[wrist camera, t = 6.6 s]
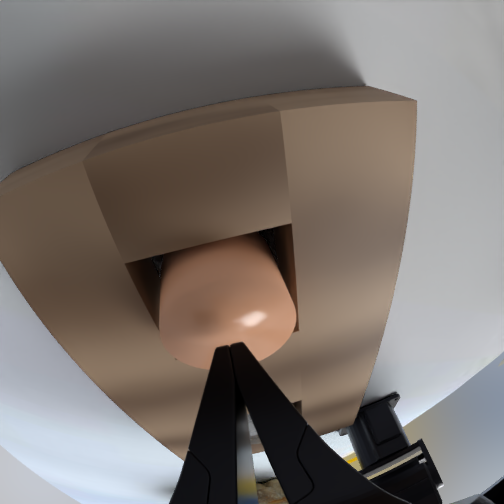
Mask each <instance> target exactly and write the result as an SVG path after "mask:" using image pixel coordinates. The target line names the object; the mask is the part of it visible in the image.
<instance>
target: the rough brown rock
mask: <svg viewBox="0 0 504 504" xmlns="http://www.w3.org/2000/svg"><path fill="white" fill-rule="evenodd" d="M256 488H257V496H258V503H259V504H289V503H288V501H287V499H286V497H285V495H284V493H283V490H282V488H281V486H280V484H279V482H278V480H277V478H276V479H272V480H270V481H269V482H267V483H265V484H259V483H256Z"/></svg>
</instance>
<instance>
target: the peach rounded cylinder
mask: <svg viewBox="0 0 504 504" xmlns="http://www.w3.org/2000/svg"><path fill="white" fill-rule="evenodd" d="M295 324H296V309H295V306H294V304H293V301H292V299H291V297H290V294H289V292H288V290H287V287H286V285H285V283H284V280H283V278H282V276H281V273H280V271H279V269H278V266H277V264H276V262H275V259H274V257H273V255H272V252H271V250H270V248H269V245H268V244H267V242H266V240H265V239H264V238H263V237H262V236H261V235H260V234H259V233H258V232H257V231H256V232H251V233H247V234H243V235H239V236H235V237H230V238H226V239H222V240H218V241H214V242H209V243H205V244H201V245H197V246H193V247H189V248H185V249H181V250H177V251H173V252H169V253H165V254H164V255H163V258H162V263H161V279H160V318H159V331H160V338H161V341H162V344H163V346H164V347H165V349H166V350H167V351H168V352H169V353H170V354H171V355H172V356H173V357H174V358H176V359H177V360H179V361H181V362H182V363H185V364H187V365H190V366H193V367H196V368H201V369H208V370H209V369H210V365H211V362H212V358H213V355H214V351H215V349H216V347H219V346H223V345H229V346H230V345H231V344H232V343H236V342H241V341H242V342H244V343H245V344H246V346H247V347H248V348H249V350H250V351H251V352H252V354H253V355H254V356H255V358H256V359H257V360H258V361H261V360H263V359H265V358H267V357H268V356H270V355H271V354H273V353H274V352H276V351H277V350H278V349H279V348H281V347H282V346H283V345H284V344H285V343H286V341H287V340H288V339H289V337H290V336H291V334H292V332H293V330H294V327H295Z"/></svg>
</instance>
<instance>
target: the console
mask: <svg viewBox="0 0 504 504" xmlns="http://www.w3.org/2000/svg"><path fill="white" fill-rule="evenodd" d="M416 121H417V101H416V100H413V99H410V98H407V97H404V96H401V95H398V94H394V93H391V92H388V91H384V90H381V89H377V88H374V87H370V86H352V87H335V88H322V89H310V90H301V91H292V92H284V93H276V94H269V95H262V96H256V97H249V98H244V99H238V100H232V101H227V102H222V103H217V104H212V105H208V106H203V107H198V108H194V109H190V110H186V111H182V112H178V113H174V114H170V115H166V116H162V117H159V118H155V119H151V120H148V121H144V122H141V123H138V124H134V125H131V126H128V127H125V128H122V129H119V130H116V131H113V132H110V133H107V134H104V135H101V136H98V137H95V138H92V139H90V140H87V141H84V142H82V143H79V144H77V145H74V146H71V147H69V148H66V149H64V150H61V151H59V152H57V153H54V154H52V155H50V156H47V157H45V158H43V159H40V160H38V161H36V162H34V163H32V164H29V165H27V166H25V167H23V168H21V169H19V170H17V171H15V172H13V173H11V174H10V175H9V176H8V177H7V178H5V179H4V180H3V181H2V182H1V183H0V261H1V262H2V264H3V266H4V267H5V269H6V271H7V272H8V274H9V275H10V277H11V278H12V280H13V282H14V283H15V285H16V286H17V288H18V289H19V291H20V292H21V294H22V295H23V296H24V298H25V299H26V301H27V302H28V304H29V305H30V306H31V308H32V309H33V311H34V312H35V313H36V315H37V316H38V317H39V319H40V320H41V321H42V323H43V324H44V325H45V326H46V328H47V329H48V330H49V332H50V333H51V334H52V335H53V337H54V338H55V339H56V340H57V341H58V343H59V344H60V345H61V346H62V347H63V349H64V350H65V351H66V352H67V353H68V355H69V356H70V357H71V358H72V359H73V360H74V361H75V362H76V364H77V365H78V366H79V367H80V368H81V369H82V370H83V371H84V372H85V373H86V375H87V376H88V377H89V378H90V379H91V380H92V381H93V382H94V383H95V384H96V385H97V386H98V387H99V388H100V389H101V390H102V391H103V392H104V393H105V394H106V395H107V396H108V397H109V398H110V399H111V400H112V401H113V402H114V403H115V404H116V405H117V406H118V407H119V408H121V409H122V410H123V411H124V412H125V413H126V414H127V415H128V416H129V417H130V418H132V419H133V420H134V421H135V422H136V423H137V424H138V425H140V426H141V427H142V428H143V429H144V430H145V431H147V432H148V433H149V434H150V435H151V436H153V437H154V438H155V439H156V440H157V441H159V442H160V443H161V444H162V445H164V446H165V447H166V448H168V449H169V450H170V451H171V452H173V453H174V454H175V455H177V456H178V457H179V458H181V459H182V460H183V461H185V457H186V453H187V451H188V446H189V443H190V439H191V435H192V431H193V428H194V424H195V420H196V417H197V413H198V409H199V406H200V402H201V398H202V395H203V391H204V387H205V384H206V380H207V376H208V373H209V370H208V369H201V368H196V367H193V366H190V365H187V364H185V363H182V362H181V361H179V360H177V359H176V358H174V357H173V356H172V355H171V354H170V353H169V352H168V351H167V350H166V349H165V347H164V346H163V344H162V341H161V338H160V331H159V318H160V277H159V275H158V273H157V270H156V268H155V266H154V263H153V261H152V258H151V257H153V256H157V255H161V254H165V253H169V252H173V251H177V250H181V249H185V248H189V247H193V246H197V245H201V244H205V243H209V242H214V241H218V240H222V239H226V238H230V237H235V236H239V235H243V234H247V233H251V232H256V231H260V230H264V229H269V228H273V230H274V238H275V247H276V255H277V263H278V269H279V271H280V273H281V276H282V278H283V280H284V283H285V285H286V287H287V290H288V292H289V294H290V297H291V299H292V301H293V304H294V306H295V309H296V324H295V327H294V330H293V332H292V334H291V336H290V337H289V339H288V340H287V341H286V343H285V344H284V345H283V346H282V347H281V348H279V349H278V350H277V351H276V352H274V353H273V354H271V355H270V356H268V357H267V358H265V359H263V360H261V361H259V363H260V364H261V365H262V367H263V368H264V369H265V370H266V372H267V373H268V374H269V376H270V377H271V378H272V379H273V381H274V382H275V383H276V384H277V386H278V387H279V388H280V389H281V391H282V392H283V393H284V394H285V396H286V397H287V398H288V399H289V401H290V402H291V403H292V404H293V405H294V407H295V408H296V409H297V410H298V412H299V413H300V414H301V415H302V416H303V418H304V419H305V420H306V421H307V422H308V424H309V425H310V426H311V427H312V428H313V429H314V430H315V432H316V433H317V434H318V435H319V436H321V435H324V434H327V433H330V432H333V431H336V430H339V429H342V428H345V427H348V426H350V425H353V423H354V421H355V418H356V415H357V413H358V410H359V407H360V405H361V402H362V399H363V397H364V394H365V391H366V388H367V385H368V382H369V379H370V376H371V373H372V370H373V367H374V364H375V361H376V357H377V354H378V351H379V347H380V344H381V341H382V337H383V334H384V330H385V326H386V322H387V319H388V315H389V311H390V307H391V303H392V298H393V294H394V290H395V285H396V281H397V276H398V271H399V266H400V261H401V256H402V251H403V245H404V239H405V233H406V227H407V220H408V213H409V206H410V198H411V189H412V180H413V170H414V158H415V143H416ZM246 409H247V407H246ZM247 414H249V412H248V410H247ZM251 449H252V454H254V453H259V452H263V451H265V450H264V448H263V446H262V443H260V444H251Z"/></svg>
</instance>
